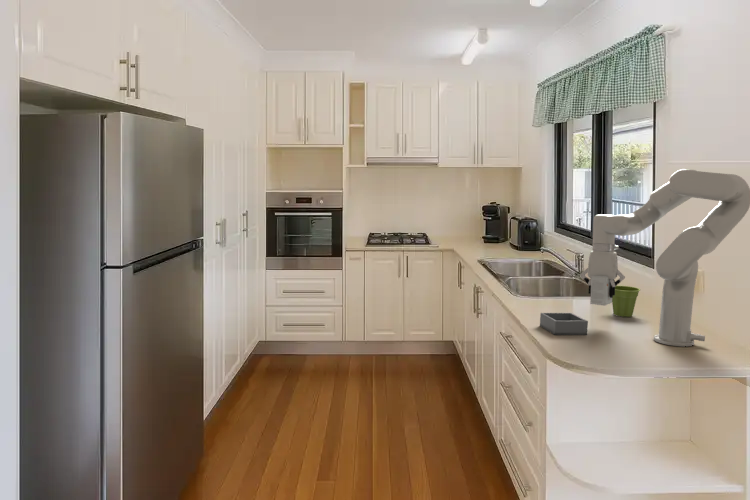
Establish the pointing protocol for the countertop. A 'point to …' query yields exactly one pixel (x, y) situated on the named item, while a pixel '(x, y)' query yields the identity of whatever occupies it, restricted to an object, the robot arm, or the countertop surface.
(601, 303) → the small box
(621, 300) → the plant pot
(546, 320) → the crate
